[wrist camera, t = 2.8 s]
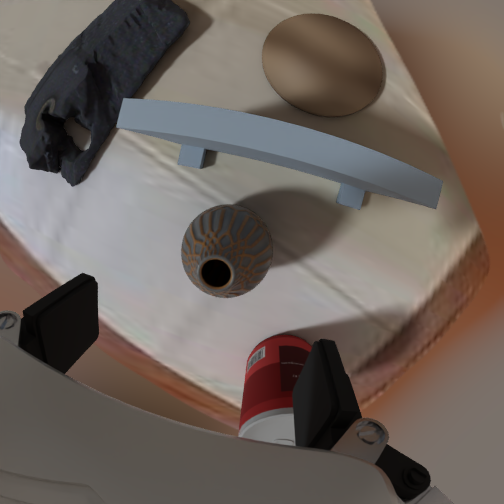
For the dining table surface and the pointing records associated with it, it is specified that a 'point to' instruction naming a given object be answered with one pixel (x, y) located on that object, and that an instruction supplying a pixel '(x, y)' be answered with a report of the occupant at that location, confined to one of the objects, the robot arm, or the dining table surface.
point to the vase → (226, 251)
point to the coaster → (322, 65)
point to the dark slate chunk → (96, 82)
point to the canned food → (272, 389)
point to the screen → (279, 149)
